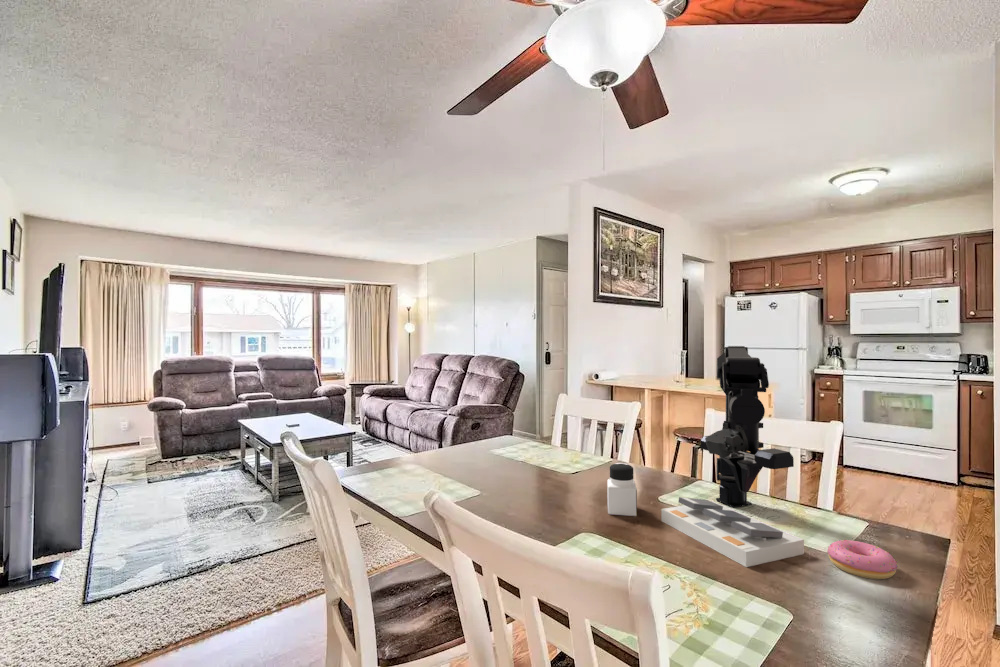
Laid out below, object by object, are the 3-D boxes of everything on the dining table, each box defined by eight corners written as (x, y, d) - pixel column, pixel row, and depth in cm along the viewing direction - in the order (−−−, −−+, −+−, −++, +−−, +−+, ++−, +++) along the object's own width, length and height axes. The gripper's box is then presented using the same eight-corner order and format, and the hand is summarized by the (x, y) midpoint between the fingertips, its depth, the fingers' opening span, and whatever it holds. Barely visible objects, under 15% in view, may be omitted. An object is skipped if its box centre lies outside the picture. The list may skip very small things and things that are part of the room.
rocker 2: (761, 528, 104) (762, 522, 104) (782, 537, 99) (783, 531, 99) (730, 526, 101) (731, 520, 101) (750, 535, 96) (751, 529, 96)
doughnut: (824, 551, 100) (824, 531, 100) (891, 563, 94) (890, 543, 94) (830, 573, 90) (829, 552, 91) (904, 589, 85) (903, 565, 85)
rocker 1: (706, 504, 119) (707, 499, 119) (722, 511, 114) (722, 506, 114) (678, 502, 116) (679, 496, 116) (693, 509, 111) (694, 503, 111)
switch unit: (712, 512, 122) (711, 498, 122) (803, 554, 98) (803, 536, 98) (661, 521, 116) (661, 506, 116) (746, 567, 93) (746, 548, 93)
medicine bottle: (637, 516, 119) (636, 469, 119) (608, 514, 121) (607, 467, 121) (634, 506, 126) (634, 462, 126) (607, 505, 128) (607, 460, 128)
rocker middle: (732, 515, 111) (732, 510, 111) (750, 523, 106) (750, 517, 107) (702, 513, 108) (703, 507, 108) (719, 521, 103) (720, 515, 103)
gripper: (681, 412, 105) (681, 483, 105) (752, 427, 87) (752, 512, 87) (719, 410, 109) (720, 477, 108) (795, 423, 91) (796, 504, 91)
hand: (743, 491), depth 99 cm, fingers closed
